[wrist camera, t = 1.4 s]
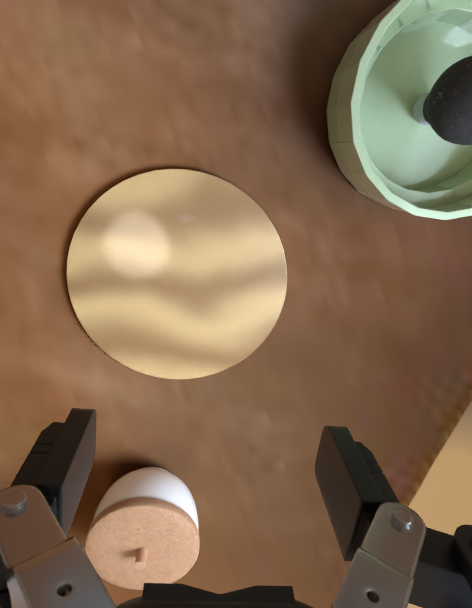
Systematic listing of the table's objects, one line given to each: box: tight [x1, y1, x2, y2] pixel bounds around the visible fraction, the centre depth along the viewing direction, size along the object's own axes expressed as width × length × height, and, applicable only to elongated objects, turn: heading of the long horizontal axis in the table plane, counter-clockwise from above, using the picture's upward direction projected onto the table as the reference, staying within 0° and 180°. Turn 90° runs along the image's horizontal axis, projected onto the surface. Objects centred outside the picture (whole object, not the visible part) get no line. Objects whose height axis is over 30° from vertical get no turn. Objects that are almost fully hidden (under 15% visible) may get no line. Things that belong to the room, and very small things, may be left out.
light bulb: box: [413, 56, 472, 145], centre depth 31 cm, size 6×6×10 cm
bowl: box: [327, 0, 472, 220], centre depth 33 cm, size 16×16×6 cm
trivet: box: [67, 168, 287, 379], centre depth 39 cm, size 20×20×1 cm
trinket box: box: [84, 467, 199, 590], centre depth 43 cm, size 11×11×9 cm
